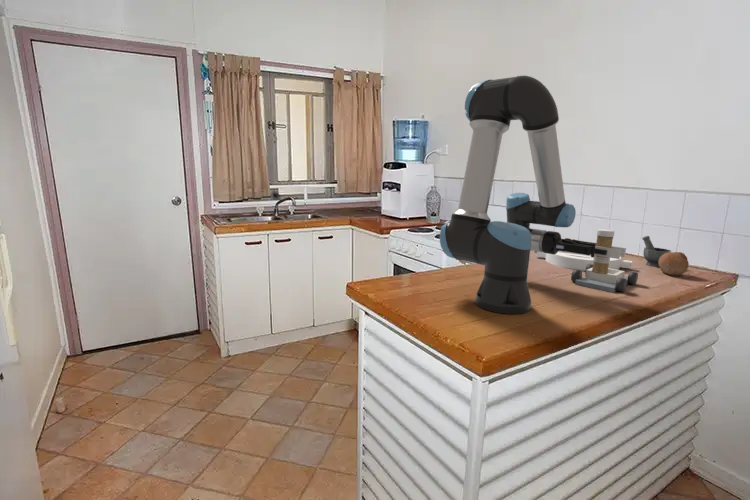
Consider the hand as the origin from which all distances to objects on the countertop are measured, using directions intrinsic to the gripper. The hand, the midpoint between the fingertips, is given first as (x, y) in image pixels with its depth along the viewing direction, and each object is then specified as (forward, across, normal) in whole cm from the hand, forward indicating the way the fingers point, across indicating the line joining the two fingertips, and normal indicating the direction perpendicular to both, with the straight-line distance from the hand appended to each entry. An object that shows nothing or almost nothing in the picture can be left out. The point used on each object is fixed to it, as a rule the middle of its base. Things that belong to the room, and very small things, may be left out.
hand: (622, 253), depth 124 cm
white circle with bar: (-26, -45, -14) cm, 54 cm away
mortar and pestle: (-5, -67, -13) cm, 69 cm away
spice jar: (-5, 0, -7) cm, 9 cm away
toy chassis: (-9, -19, -14) cm, 25 cm away
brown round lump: (+4, -54, -14) cm, 56 cm away
